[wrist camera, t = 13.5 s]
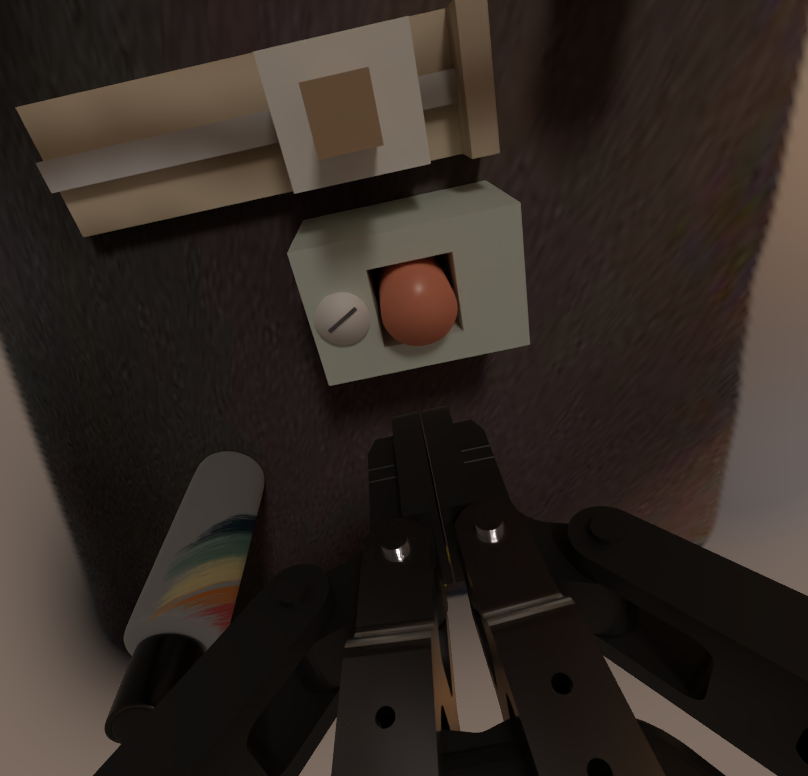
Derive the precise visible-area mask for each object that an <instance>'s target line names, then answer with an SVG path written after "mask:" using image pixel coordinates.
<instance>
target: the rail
mask: <svg viewBox="0 0 808 776" xmlns="http://www.w3.org/2000/svg"><path fill="white" fill-rule="evenodd" d="M409 21H410V28H411V34H412V41H413V48H414V54H415V61H416V68H417V74H418V81H419V87H420V94H421V101H422V107H423V114H424V121H425V127H426V134H427V141H428V147H429V154H430V160H431V161H432V160H436V159H441V158H446V157H450V156H455V155H459V154H464V155H466V156H468V157H470V158H472V159H474V158H479V157H484V156H488V155H493V154H497V153H500V149H499V137H498V125H497V113H496V101H495V89H494V77H493V65H492V53H491V41H490V29H489V17H488V5H487V0H453V1H452V2H451V3H450V4H449V5H448V6H447V7H446V8H445V9H440V10H436V11H432V12H427V13H423V14H419V15H414V16H410V17H409ZM15 108H16V110H17V112H18V113H19V115H20V117H21V119H22V121H23V123H24V125H25V127H26V129H27V131H28V133H29V134H30V136H31V138H32V140H33V142H34V144H35V146H36V148H37V150H38V152H39V154H40V155H41V157H42V159H43V161H42V162H38V163H36V165H37V167H38V169H39V170H40V172H41V174H42V176H43V178H44V180H45V182H46V184H47V185H48V187H49V189H50V191H51V193H55V192H60V194H61V196H62V197H63V199H64V201H65V203H66V205H67V207H68V209H69V211H70V213H71V215H72V217H73V218H74V220H75V222H76V224H77V226H78V228H79V230H80V232H81V234H82V236H83V237H87V236H92V235H96V234H101V233H105V232H110V231H115V230H119V229H124V228H128V227H133V226H137V225H142V224H146V223H151V222H155V221H160V220H164V219H169V218H173V217H178V216H183V215H187V214H192V213H196V212H201V211H205V210H210V209H214V208H219V207H223V206H228V205H232V204H237V203H241V202H246V201H251V200H255V199H260V198H264V197H269V196H273V195H278V194H282V193H287V192H291V191H293V188H292V185H291V181H290V178H289V174H288V171H287V167H286V164H285V161H284V157H283V154H282V150H281V147H280V143H279V140H278V137H277V133H276V130H275V126H274V123H273V119H272V116H271V112H270V109H269V106H268V102H267V99H266V95H265V92H264V88H263V85H262V82H261V78H260V75H259V71H258V68H257V64H256V61H255V58H254V54H253V53H249V54H245V55H241V56H236V57H232V58H228V59H223V60H219V61H215V62H210V63H206V64H202V65H197V66H193V67H189V68H184V69H180V70H176V71H171V72H167V73H163V74H158V75H154V76H150V77H145V78H141V79H137V80H132V81H128V82H124V83H119V84H115V85H111V86H106V87H102V88H98V89H93V90H89V91H85V92H80V93H76V94H72V95H67V96H63V97H58V98H54V99H50V100H45V101H41V102H37V103H32V104H28V105H24V106H19V107H15Z"/></svg>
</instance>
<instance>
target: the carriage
mask: <svg viewBox="0 0 808 776" xmlns="http://www.w3.org/2000/svg"><path fill="white" fill-rule="evenodd" d="M253 54H254V58H255V61H256V64H257V68H258V71H259V75H260V78H261V82H262V85H263V88H264V92H265V95H266V99H267V102H268V106H269V109H270V112H271V116H272V119H273V123H274V126H275V130H276V133H277V137H278V140H279V143H280V147H281V150H282V154H283V157H284V161H285V164H286V167H287V171H288V174H289V178H290V181H291V185H292V188H293V191H294V194H296V193H300V192H305V191H309V190H314V189H318V188H323V187H328V186H332V185H337V184H341V183H346V182H350V181H355V180H359V179H364V178H368V177H373V176H377V175H382V174H387V173H391V172H396V171H400V170H405V169H409V168H414V167H418V166H423V165H427V164H431V160H430V154H429V147H428V141H427V134H426V127H425V121H424V114H423V107H422V101H421V94H420V87H419V81H418V74H417V68H416V61H415V54H414V48H413V41H412V34H411V28H410V21H409V16H406V17H402V18H397V19H393V20H389V21H384V22H380V23H376V24H371V25H367V26H363V27H358V28H354V29H350V30H345V31H341V32H337V33H332V34H328V35H324V36H319V37H315V38H311V39H306V40H302V41H298V42H293V43H289V44H285V45H280V46H276V47H272V48H267V49H263V50H259V51H254V52H253Z"/></svg>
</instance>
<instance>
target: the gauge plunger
mask: <svg viewBox="0 0 808 776" xmlns="http://www.w3.org/2000/svg"><path fill="white" fill-rule="evenodd" d="M378 286H379V297H380V307H381V317H382V321H383V324H384V326H385V328H386V330H387V331H388V333H389V334H390V335H391V336H392V337H393V338H395V339H396V340H397V341H399V342H401V343H404V344H406V345H411V346H424V345H429V344H432V343H434V342H436V341H438V340H440V339H441V338H443V337H444V336H445V335H446V334H447V333H448V332H449V331H450V329H451V328H452V326H453V324H454V322H455V320H456V316H457V309H458V308H457V300H456V297H455V294H454V292H453V290H452V288H451V286H450V284H449V282H448V280H447V278H446V276H445V274H444V271H443V269H442V267H441V265H440V263H439V261H438V259H437V258H436V256H430V257H425V258H421V259H416V260H411V261H407V262H402V263H397V264H393V265H388V266H383V267H379V269H378Z"/></svg>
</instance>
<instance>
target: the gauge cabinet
mask: <svg viewBox="0 0 808 776" xmlns="http://www.w3.org/2000/svg"><path fill="white" fill-rule="evenodd" d="M287 254H288V258H289V261H290V264H291V267H292V270H293V273H294V276H295V280H296V283H297V286H298V289H299V292H300V295H301V299H302V302H303V305H304V308H305V311H306V314H307V318H308V321H309V324H310V327H311V330H312V333H313V336H314V340H315V343H316V346H317V349H318V352H319V355H320V359H321V362H322V365H323V368H324V371H325V374H326V377H327V381H328V384H329V386H332V385H336V384H341V383H346V382H351V381H356V380H361V379H365V378H370V377H375V376H380V375H385V374H390V373H394V372H399V371H404V370H409V369H414V368H419V367H423V366H428V365H433V364H438V363H443V362H448V361H452V360H457V359H462V358H467V357H472V356H477V355H481V354H486V353H491V352H496V351H501V350H506V349H510V348H515V347H520V346H525V345H530V338H529V323H528V308H527V293H526V278H525V263H524V248H523V233H522V218H521V203H520V202H519V201H517V200H515V199H514V198H512V197H511V196H509V195H508V194H506V193H504V192H503V191H501V190H500V189H498V188H497V187H495V186H494V185H492V184H490V183H489V182H487V181H486V180H485V181H480V182H475V183H471V184H466V185H462V186H457V187H453V188H448V189H443V190H439V191H434V192H430V193H425V194H420V195H416V196H411V197H407V198H402V199H398V200H393V201H388V202H384V203H379V204H375V205H370V206H366V207H361V208H356V209H352V210H347V211H343V212H338V213H334V214H329V215H324V216H320V217H315V218H311V219H306V220H303V221H302V223H301V226H300V228H299V230H298V232H297V234H296V236H295V238H294V240H293V242H292V244H291V246H290V248H289V250H288V252H287ZM435 255H439V261H440V265H441V267H442V269H443V271H444V274H445V276H446V278H447V280H448V282H449V284H450V286H451V288H452V290H453V292H454V294H455V297H456V300H457V308H458V309H457V316H456V320H455V322H454V324H453V326H452V328H451V329H450V331H449V332H448V333H447V334H446V335H445V336H444V337H443V338H441V339H440V340H438V341H436V342H434V343H432V344H429V345H424V346H411V345H406V344H404V343H401V342H399V341H397V340H396V339H395V338H393V337H392V336H391V335H390V334H389V333H388V331H387V330H386V328H385V326H384V324H383V321H382V317H381V307H380V298H379V293H378V289H377V285H376V280H375V276H374V272H373V269H374V268H379V267H383V266H388V265H393V264H397V263H402V262H407V261H411V260H416V259H421V258H425V257H430V256H435Z"/></svg>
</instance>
